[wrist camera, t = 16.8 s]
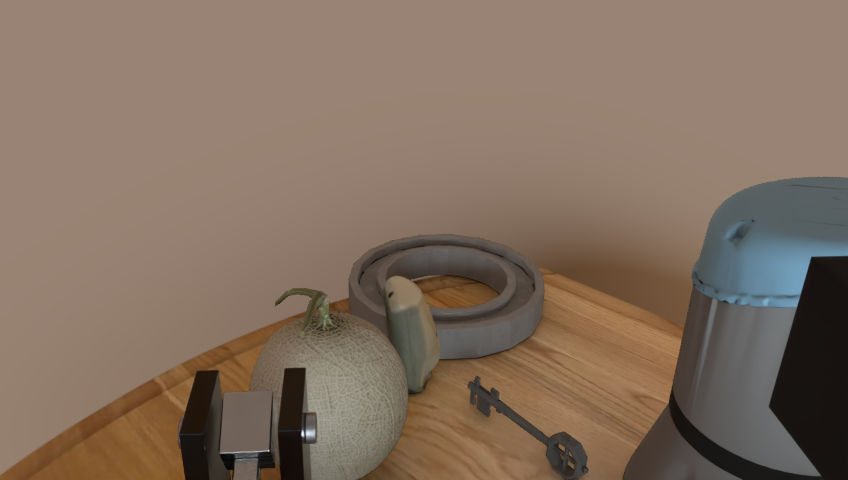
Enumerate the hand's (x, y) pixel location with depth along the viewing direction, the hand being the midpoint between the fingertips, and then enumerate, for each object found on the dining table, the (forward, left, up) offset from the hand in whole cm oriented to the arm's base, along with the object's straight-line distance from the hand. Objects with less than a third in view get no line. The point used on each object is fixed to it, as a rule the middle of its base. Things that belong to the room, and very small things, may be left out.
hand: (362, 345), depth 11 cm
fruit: (-29, -16, -32) cm, 46 cm away
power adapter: (-40, -14, -32) cm, 53 cm away
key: (-36, -3, -32) cm, 48 cm away
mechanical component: (-52, -14, -32) cm, 63 cm away
